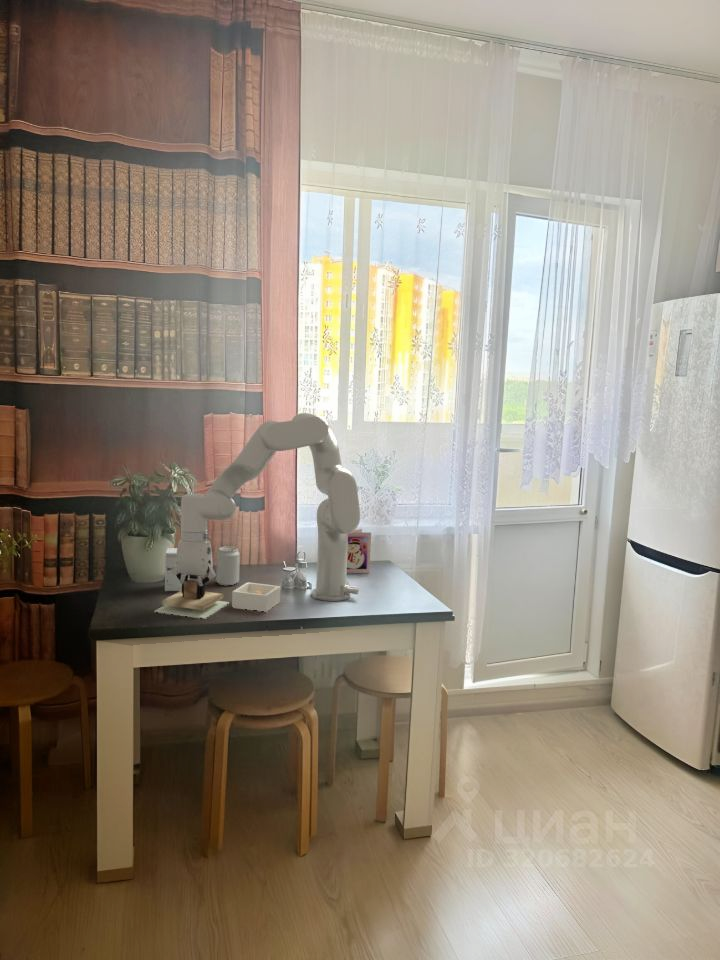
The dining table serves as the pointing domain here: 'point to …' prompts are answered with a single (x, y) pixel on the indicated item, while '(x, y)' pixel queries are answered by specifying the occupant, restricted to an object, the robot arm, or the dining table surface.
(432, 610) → the dining table surface
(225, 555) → the can
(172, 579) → the supplement box
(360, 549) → the greeting card
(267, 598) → the dish
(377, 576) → the dining table surface
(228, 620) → the dining table surface
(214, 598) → the lid
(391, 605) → the dining table surface
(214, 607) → the mat
